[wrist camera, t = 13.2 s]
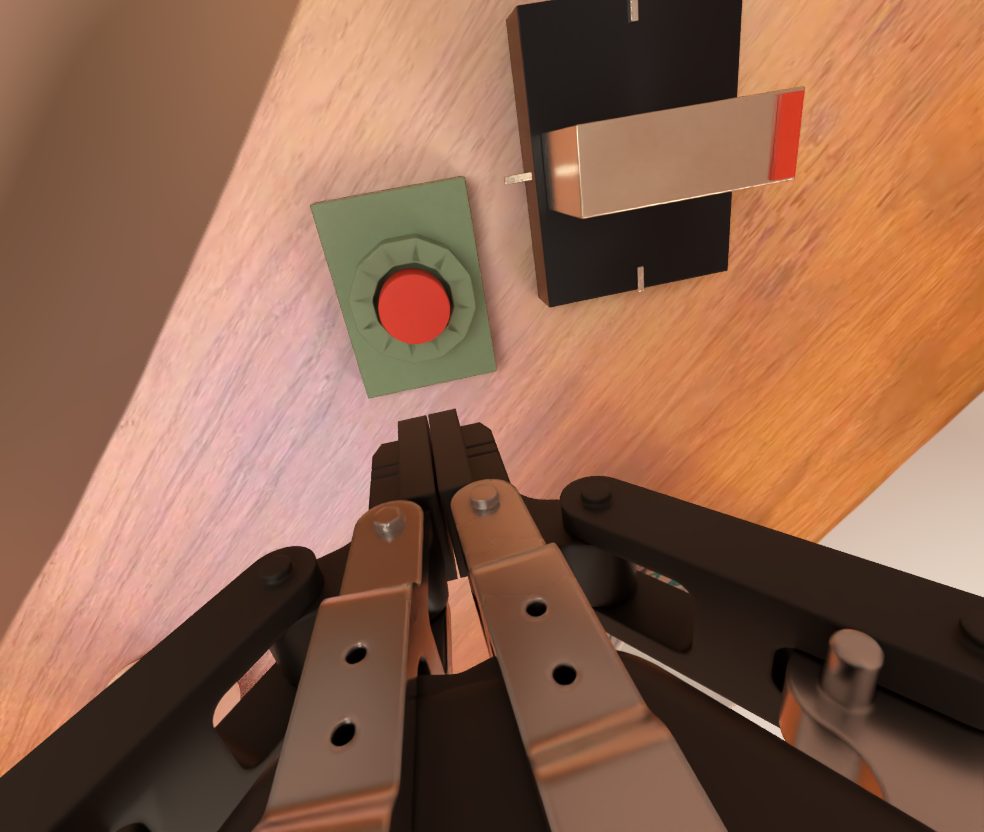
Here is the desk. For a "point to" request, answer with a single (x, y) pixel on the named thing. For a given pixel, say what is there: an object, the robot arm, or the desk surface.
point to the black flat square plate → (612, 94)
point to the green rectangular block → (401, 245)
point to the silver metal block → (673, 154)
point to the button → (413, 306)
